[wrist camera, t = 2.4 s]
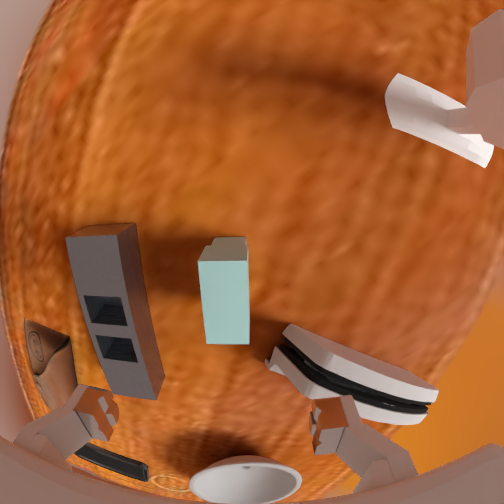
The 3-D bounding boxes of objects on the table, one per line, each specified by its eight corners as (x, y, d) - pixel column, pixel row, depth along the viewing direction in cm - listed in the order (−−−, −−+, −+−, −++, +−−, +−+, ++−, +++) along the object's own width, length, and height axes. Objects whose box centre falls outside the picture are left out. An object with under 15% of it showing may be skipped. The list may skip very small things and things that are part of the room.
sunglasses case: (20, 313, 25) (12, 350, 20) (70, 314, 29) (71, 351, 24) (46, 405, 30) (49, 439, 25) (86, 404, 34) (92, 438, 29)
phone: (148, 482, 36) (74, 454, 35) (149, 478, 37) (76, 450, 36) (147, 467, 33) (65, 435, 32) (148, 462, 34) (67, 431, 33)
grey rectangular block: (87, 225, 22) (65, 237, 18) (135, 222, 22) (116, 234, 18) (124, 371, 27) (112, 393, 23) (165, 376, 27) (156, 400, 23)
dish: (263, 487, 36) (263, 510, 31) (181, 470, 34) (176, 494, 29) (321, 441, 31) (326, 470, 26) (217, 418, 29) (213, 452, 24)
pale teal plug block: (211, 233, 22) (197, 261, 16) (248, 232, 22) (246, 260, 16) (216, 301, 24) (206, 343, 18) (250, 300, 24) (249, 344, 18)
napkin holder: (260, 360, 26) (288, 416, 16) (283, 317, 26) (325, 355, 16) (381, 400, 28) (431, 440, 18) (401, 366, 29) (457, 398, 19)
